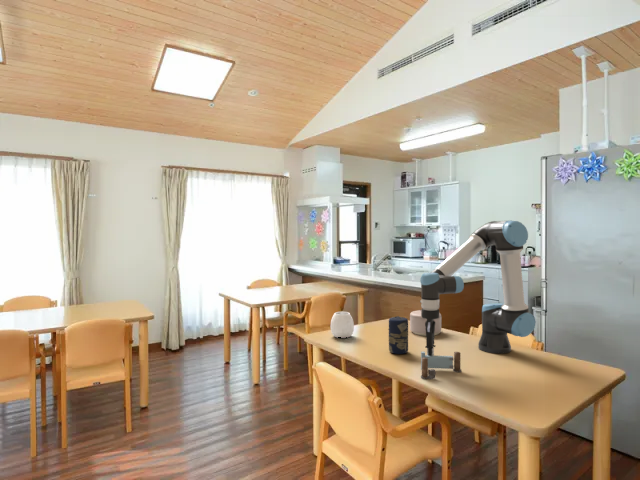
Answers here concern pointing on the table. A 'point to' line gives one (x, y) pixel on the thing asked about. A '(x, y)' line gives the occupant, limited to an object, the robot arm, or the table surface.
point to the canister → (398, 335)
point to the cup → (342, 324)
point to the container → (422, 323)
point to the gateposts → (432, 371)
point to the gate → (438, 361)
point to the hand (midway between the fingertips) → (430, 362)
